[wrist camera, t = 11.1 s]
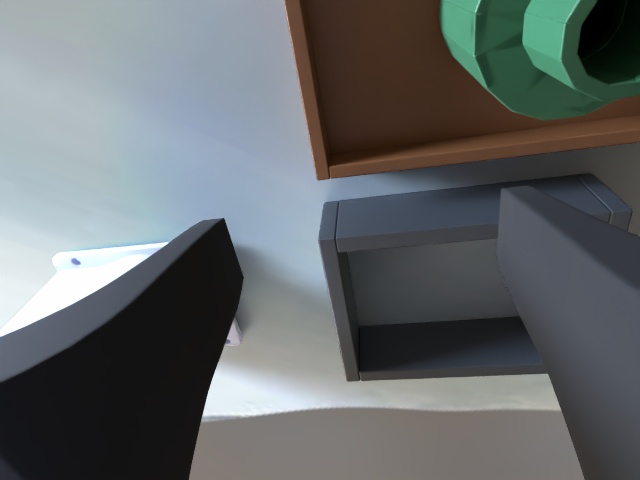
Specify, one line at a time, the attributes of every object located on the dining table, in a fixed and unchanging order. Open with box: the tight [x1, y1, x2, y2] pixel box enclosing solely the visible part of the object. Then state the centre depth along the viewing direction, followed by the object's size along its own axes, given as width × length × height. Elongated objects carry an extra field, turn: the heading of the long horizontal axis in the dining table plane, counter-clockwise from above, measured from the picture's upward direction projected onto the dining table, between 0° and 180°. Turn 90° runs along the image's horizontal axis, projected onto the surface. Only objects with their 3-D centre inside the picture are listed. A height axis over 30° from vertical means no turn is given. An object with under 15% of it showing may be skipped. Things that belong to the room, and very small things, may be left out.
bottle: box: [439, 0, 640, 120], centre depth 12 cm, size 5×5×8 cm
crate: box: [318, 174, 632, 381], centre depth 21 cm, size 13×10×4 cm
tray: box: [284, 0, 640, 180], centre depth 15 cm, size 16×11×2 cm
